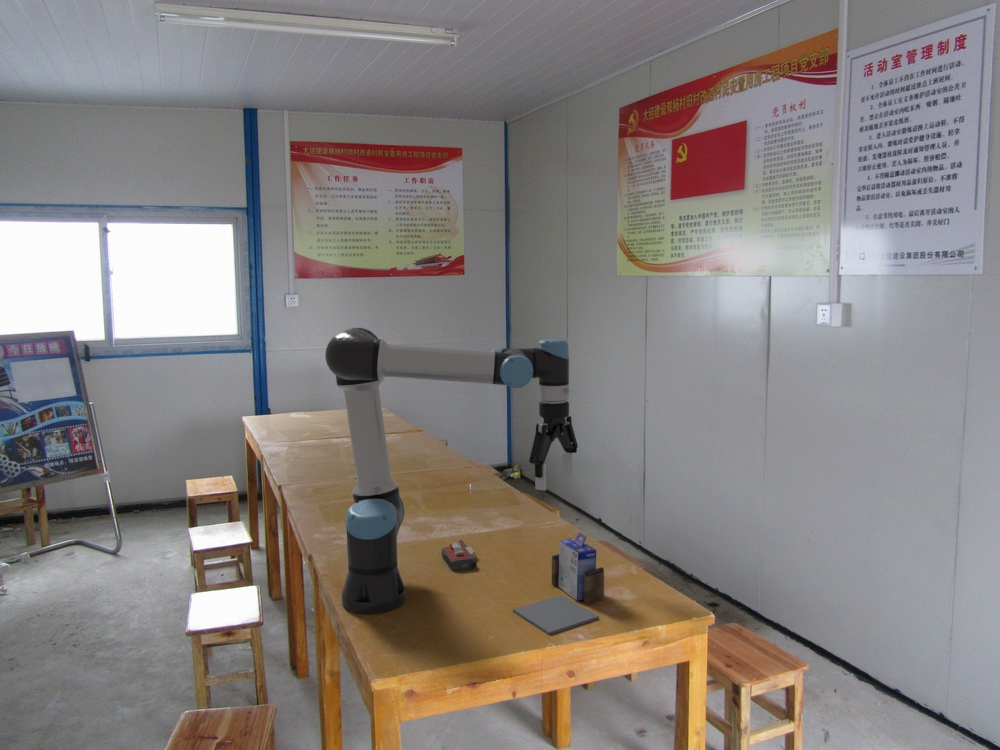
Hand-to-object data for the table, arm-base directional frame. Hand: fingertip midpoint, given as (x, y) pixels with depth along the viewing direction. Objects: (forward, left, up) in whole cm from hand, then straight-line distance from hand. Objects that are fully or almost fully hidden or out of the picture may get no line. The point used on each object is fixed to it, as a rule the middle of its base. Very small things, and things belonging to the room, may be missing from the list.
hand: (554, 483), depth 195 cm
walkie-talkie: (-14, +25, -25) cm, 38 cm away
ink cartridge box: (-2, -12, -25) cm, 27 cm away
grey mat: (-14, -19, -24) cm, 34 cm away
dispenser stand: (-2, -12, -24) cm, 27 cm away
